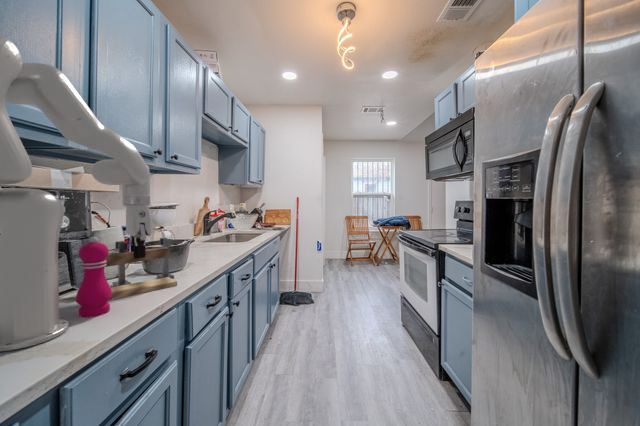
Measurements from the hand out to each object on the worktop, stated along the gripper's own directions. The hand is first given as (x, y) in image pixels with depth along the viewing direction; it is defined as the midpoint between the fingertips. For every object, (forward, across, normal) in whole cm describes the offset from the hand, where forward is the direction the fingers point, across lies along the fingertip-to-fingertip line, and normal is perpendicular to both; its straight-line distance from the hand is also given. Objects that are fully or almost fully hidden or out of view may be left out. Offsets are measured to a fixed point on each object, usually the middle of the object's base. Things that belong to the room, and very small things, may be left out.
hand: (138, 256), depth 89 cm
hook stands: (+11, +9, -4) cm, 15 cm away
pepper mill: (+11, -14, +14) cm, 22 cm away
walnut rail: (+1, 0, 0) cm, 1 cm away
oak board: (+11, 0, +1) cm, 11 cm away
